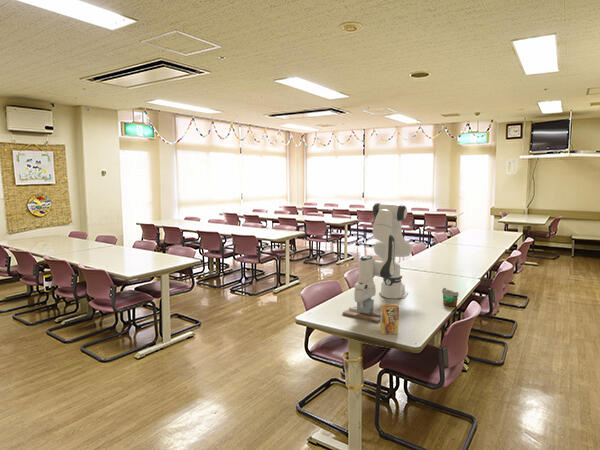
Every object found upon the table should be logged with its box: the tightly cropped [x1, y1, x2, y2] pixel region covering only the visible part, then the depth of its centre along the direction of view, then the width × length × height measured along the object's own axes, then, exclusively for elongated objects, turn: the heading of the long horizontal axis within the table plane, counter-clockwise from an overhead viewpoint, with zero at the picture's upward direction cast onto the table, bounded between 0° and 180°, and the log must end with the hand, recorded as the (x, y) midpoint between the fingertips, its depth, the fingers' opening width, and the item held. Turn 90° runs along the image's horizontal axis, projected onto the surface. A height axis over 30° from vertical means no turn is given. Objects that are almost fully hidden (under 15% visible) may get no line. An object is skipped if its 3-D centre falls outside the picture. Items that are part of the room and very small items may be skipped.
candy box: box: [379, 303, 400, 335], centre depth 207 cm, size 9×4×15 cm, turn 93°
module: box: [356, 298, 375, 314], centre depth 233 cm, size 6×8×7 cm
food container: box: [441, 287, 460, 308], centre depth 253 cm, size 12×6×10 cm, turn 21°
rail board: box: [342, 306, 381, 324], centre depth 234 cm, size 14×23×3 cm, turn 52°
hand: (365, 305), depth 233 cm, fingers closed on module, 6 cm apart
